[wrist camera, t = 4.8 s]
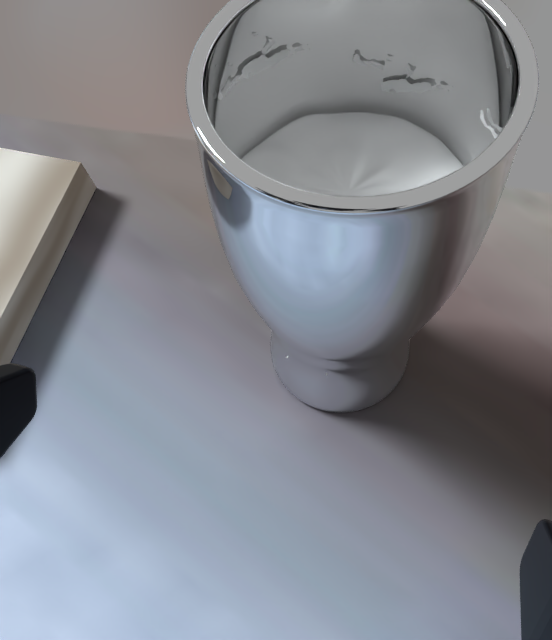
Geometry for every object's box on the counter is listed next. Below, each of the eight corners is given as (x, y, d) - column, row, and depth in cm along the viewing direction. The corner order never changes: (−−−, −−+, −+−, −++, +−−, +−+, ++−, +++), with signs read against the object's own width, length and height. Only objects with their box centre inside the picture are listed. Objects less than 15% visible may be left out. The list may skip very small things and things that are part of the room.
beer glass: (271, 272, 25) (208, -53, 12) (420, 283, 24) (540, -57, 11) (250, 414, 23) (136, 209, 9) (416, 432, 22) (570, 235, 8)
